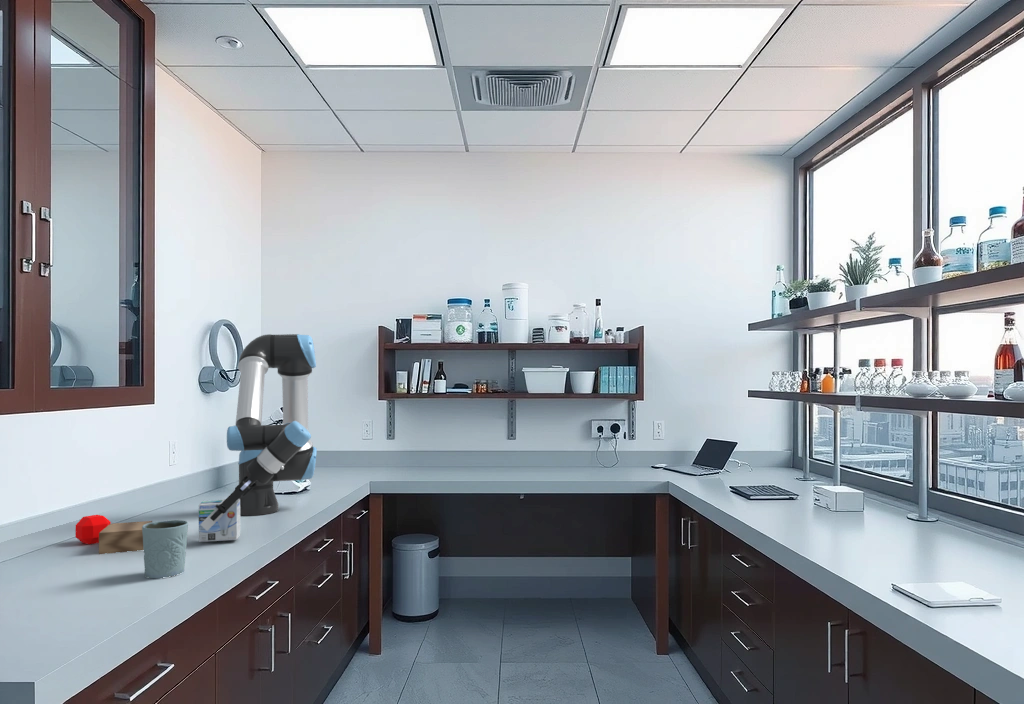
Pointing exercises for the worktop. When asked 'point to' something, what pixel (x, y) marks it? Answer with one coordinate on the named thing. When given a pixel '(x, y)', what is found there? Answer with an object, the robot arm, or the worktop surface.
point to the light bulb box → (220, 522)
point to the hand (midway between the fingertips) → (207, 524)
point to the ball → (90, 528)
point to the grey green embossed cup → (164, 547)
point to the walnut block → (121, 537)
